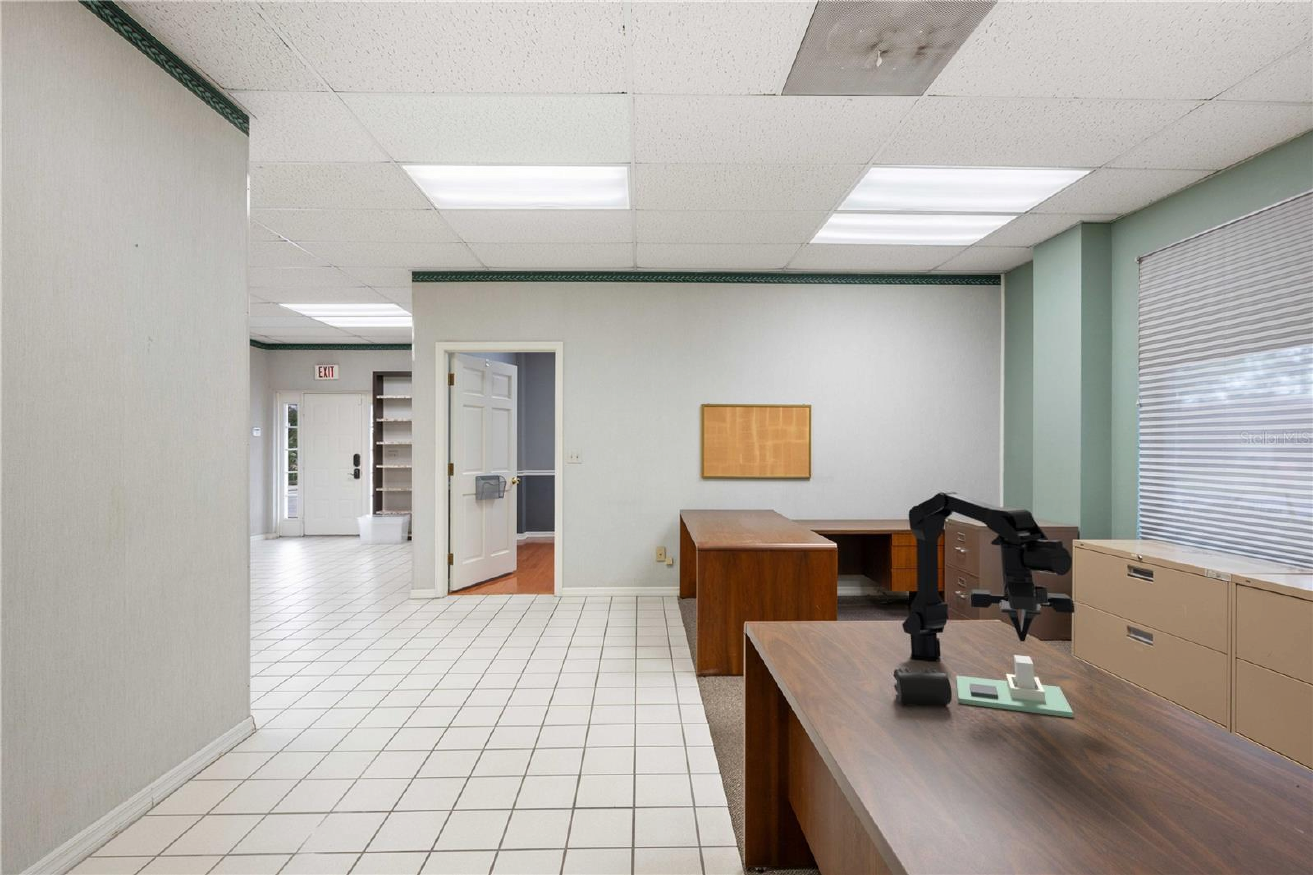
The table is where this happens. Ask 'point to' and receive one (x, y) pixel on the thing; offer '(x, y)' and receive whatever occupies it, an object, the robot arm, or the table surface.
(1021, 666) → the plug
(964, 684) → the board
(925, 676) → the end cap
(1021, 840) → the table surface
